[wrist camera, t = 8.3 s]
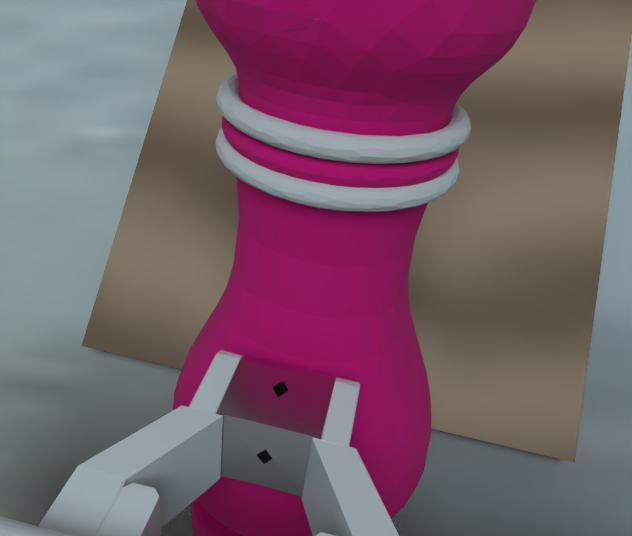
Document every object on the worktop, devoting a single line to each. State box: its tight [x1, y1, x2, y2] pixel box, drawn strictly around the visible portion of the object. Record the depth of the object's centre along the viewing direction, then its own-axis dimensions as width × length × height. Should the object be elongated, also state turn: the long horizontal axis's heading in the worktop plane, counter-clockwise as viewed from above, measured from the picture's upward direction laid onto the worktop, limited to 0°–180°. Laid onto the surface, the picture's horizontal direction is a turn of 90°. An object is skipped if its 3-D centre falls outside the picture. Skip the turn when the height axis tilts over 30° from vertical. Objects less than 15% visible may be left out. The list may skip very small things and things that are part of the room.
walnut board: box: [82, 0, 632, 462], centre depth 23 cm, size 26×18×1 cm
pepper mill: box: [173, 0, 536, 536], centre depth 13 cm, size 7×7×20 cm
